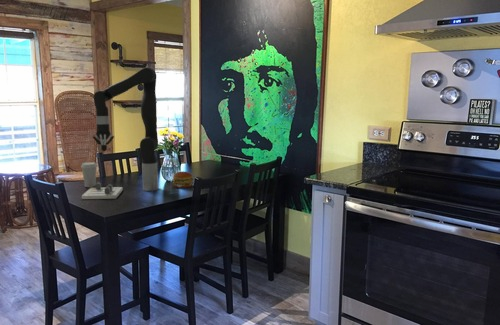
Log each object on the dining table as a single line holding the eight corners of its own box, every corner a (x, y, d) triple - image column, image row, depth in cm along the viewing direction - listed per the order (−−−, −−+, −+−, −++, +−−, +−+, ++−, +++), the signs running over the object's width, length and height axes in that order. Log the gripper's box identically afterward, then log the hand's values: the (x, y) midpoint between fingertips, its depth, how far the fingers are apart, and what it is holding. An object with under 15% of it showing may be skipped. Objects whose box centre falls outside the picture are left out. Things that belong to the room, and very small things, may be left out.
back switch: (101, 187, 256) (100, 182, 255) (100, 188, 253) (99, 183, 252) (97, 187, 255) (96, 182, 255) (95, 189, 252) (95, 183, 252)
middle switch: (112, 189, 251) (112, 184, 250) (111, 191, 248) (111, 185, 247) (108, 189, 250) (108, 184, 250) (107, 191, 247) (106, 185, 247)
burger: (189, 189, 263) (188, 174, 261) (169, 188, 266) (168, 173, 264) (196, 185, 276) (195, 170, 274) (176, 184, 279) (176, 169, 277)
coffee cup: (81, 188, 264) (80, 165, 262) (83, 184, 273) (81, 162, 271) (97, 187, 267) (96, 164, 264) (98, 184, 276) (97, 161, 273)
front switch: (110, 192, 245) (110, 186, 244) (109, 193, 242) (108, 187, 241) (105, 192, 245) (105, 186, 244) (104, 193, 242) (104, 187, 241)
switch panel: (122, 190, 260) (122, 187, 260) (116, 198, 240) (115, 194, 240) (91, 190, 258) (91, 187, 257) (81, 199, 238) (81, 195, 238)
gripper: (115, 122, 261) (116, 150, 264) (93, 122, 259) (94, 150, 262) (112, 123, 253) (114, 151, 256) (90, 123, 252) (91, 152, 255)
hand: (104, 151), depth 259 cm, fingers closed
